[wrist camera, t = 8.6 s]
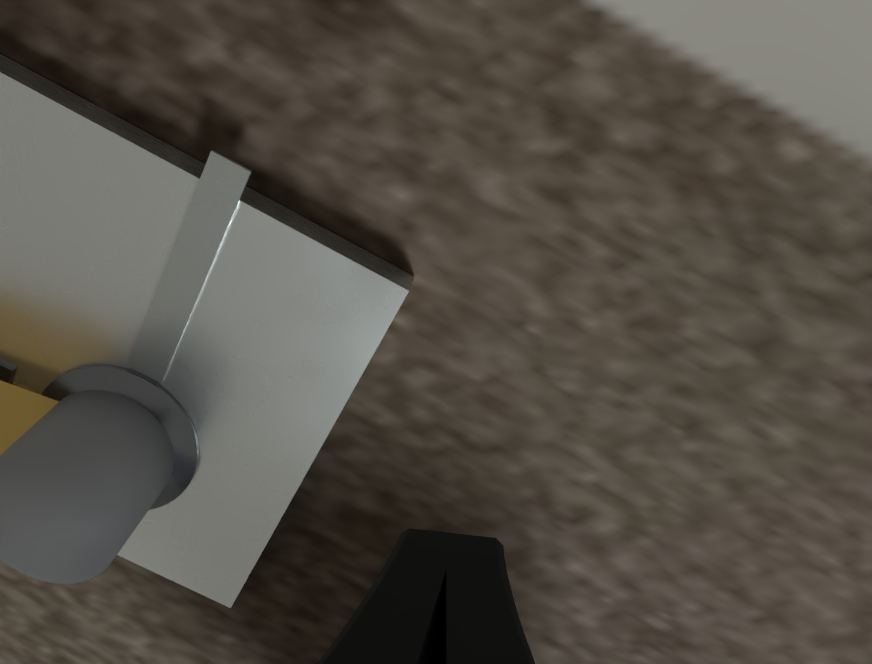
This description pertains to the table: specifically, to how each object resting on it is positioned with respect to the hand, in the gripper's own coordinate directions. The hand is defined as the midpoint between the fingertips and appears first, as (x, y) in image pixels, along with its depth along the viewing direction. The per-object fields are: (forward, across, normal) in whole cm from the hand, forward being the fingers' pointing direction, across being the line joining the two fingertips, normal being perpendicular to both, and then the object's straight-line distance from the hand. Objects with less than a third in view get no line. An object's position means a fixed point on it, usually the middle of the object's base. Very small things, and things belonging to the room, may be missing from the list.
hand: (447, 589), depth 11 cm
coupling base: (+10, +12, +1) cm, 15 cm away
